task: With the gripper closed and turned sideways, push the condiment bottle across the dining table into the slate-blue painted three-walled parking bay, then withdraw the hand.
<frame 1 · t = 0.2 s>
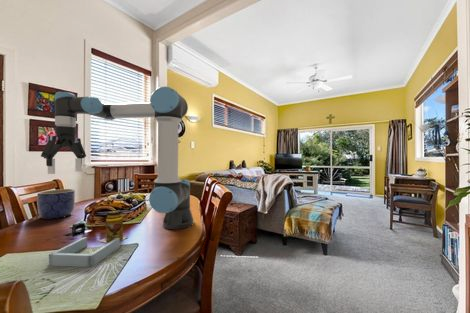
hand: (66, 172, 95), 28 cm above the table, fingers open, 13 cm apart
black angular block: (78, 234, 94), on the table
bell pepper: (110, 216, 120), on the table
bay: (89, 253, 73), on the table
planter: (57, 217, 120), on the table
condiment: (113, 240, 86), on the table
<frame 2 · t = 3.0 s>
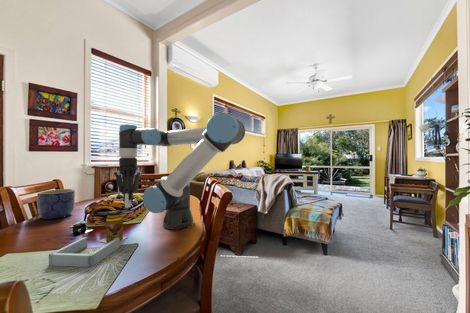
hand: (128, 206, 97), 11 cm above the table, fingers closed
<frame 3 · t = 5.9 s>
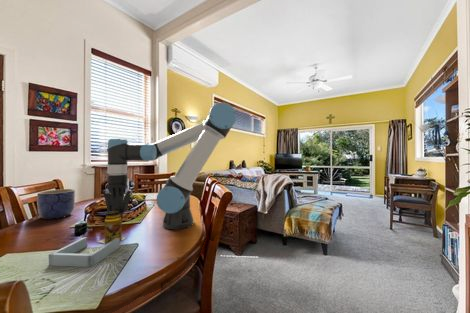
hand: (117, 228, 90), 4 cm above the table, fingers closed
condiment: (112, 240, 85), on the table, touching gripper
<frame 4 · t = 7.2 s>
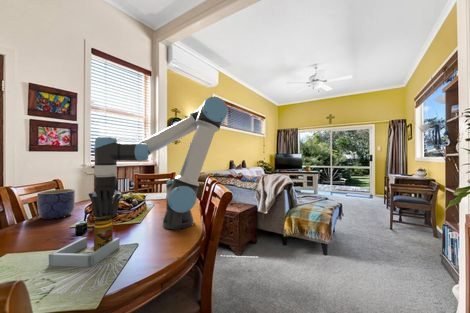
hand: (105, 234, 82), 4 cm above the table, fingers closed
condiment: (101, 248, 78), on the table, touching gripper
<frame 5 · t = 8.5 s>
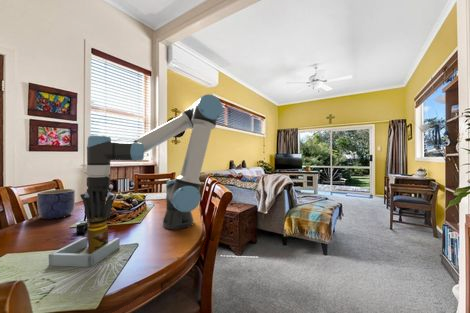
hand: (97, 237, 79), 4 cm above the table, fingers closed
condiment: (96, 251, 75), on the table, touching bay, gripper, hand
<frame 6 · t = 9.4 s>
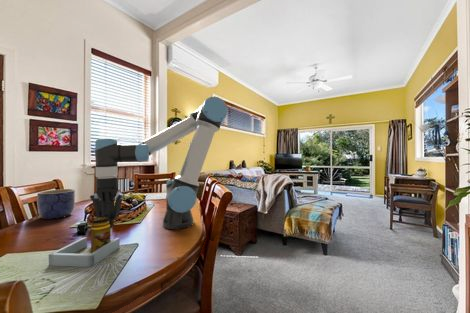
hand: (108, 235, 82), 3 cm above the table, fingers closed
condiment: (98, 251, 76), on the table
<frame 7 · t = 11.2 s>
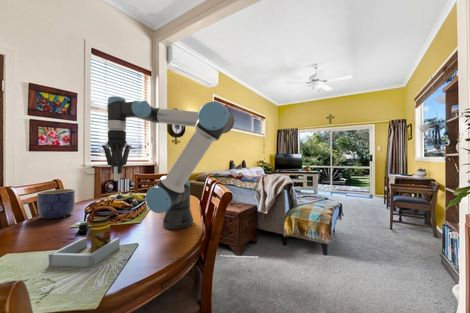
hand: (117, 180, 97), 24 cm above the table, fingers closed
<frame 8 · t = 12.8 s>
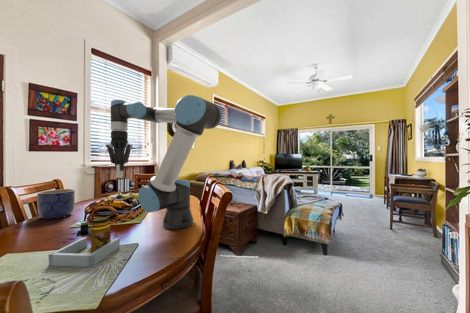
hand: (119, 177, 105), 24 cm above the table, fingers closed
at the end: condiment inside the target area on the bay (3.3 cm from its centre), point 0.0 cm above the bay's base; condiment tilted 0°; condiment touching table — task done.
